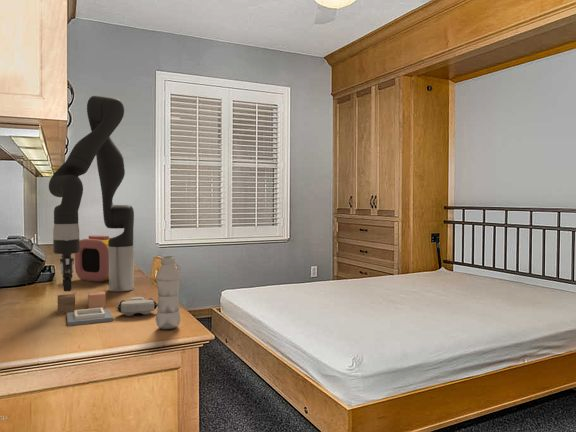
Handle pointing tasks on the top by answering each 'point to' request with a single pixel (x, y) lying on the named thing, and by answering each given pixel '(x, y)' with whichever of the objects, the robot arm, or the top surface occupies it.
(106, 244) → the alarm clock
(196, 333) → the top surface
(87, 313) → the baseplate
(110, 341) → the top surface
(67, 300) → the walnut cube
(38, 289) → the top surface
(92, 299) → the terracotta cube
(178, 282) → the plastic bottle
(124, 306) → the robot toy
